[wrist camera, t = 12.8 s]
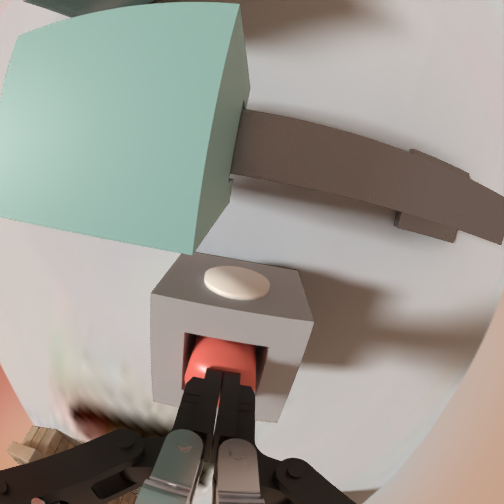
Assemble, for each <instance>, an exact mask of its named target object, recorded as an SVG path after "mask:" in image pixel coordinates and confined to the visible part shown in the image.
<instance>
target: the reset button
mask: <svg viewBox="0 0 504 504" xmlns="http://www.w3.org/2000/svg"><path fill="white" fill-rule="evenodd" d="M207 368H211V369H217V370H222V371H223V374H222V380H221V386H220V392H219V399H218V405H217V407H219V400H220V394H221V389H222V383H223V377H224V371H229V372H235V373H241V378H240V385H245V386H251V387H252V389H253V391H255V387H256V345H253V344H246V343H240V342H234V341H228V340H222V339H217V338H212V337H206V336H201V335H198V336H197V339H196V342H195V345H194V348H193V351H192V354H191V358H190V361H189V364H188V367H187V370H186V373H185V385H186V383H187V382H188V381H189V380H190V379H191V378H192V377H198V378H203V379H204V378H205V373H206V369H207Z"/></svg>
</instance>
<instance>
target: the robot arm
mask: <svg viewBox="0 0 504 504" xmlns="http://www.w3.org/2000/svg"><path fill="white" fill-rule="evenodd" d="M222 374H223V371H222V370H217V369H211V368H207V369H206V373H205V378H204V379H203V378H198V377H192V378H191V379H190V380H189V381H188V382H187V383H186V386H185V389H184V393H183V396H182V399H181V403H180V406H179V409H178V413H177V416H176V420H175V423H174V426H173V429H172V430H171V431H170V433H168V434H167V435H165V436H163V437H159V438H141V437H140V436H139V435H138V434H137V433H136V432H134V431H132V430H129V429H117V430H115V431H112V432H110V433H108V434H105V435H103V436H101V437H98V438H96V439H93V440H91V441H89V442H86V443H84V444H81V445H78V446H76V447H73V448H71V449H68V450H65V451H62V452H60V453H57V454H54V455H51V456H48V457H45V458H42V459H39V460H36V461H33V462H30V463H26V464H23V465H20V466H16V467H12V468H9V469H5V470H1V471H0V504H106V503H108V502H110V501H112V500H114V499H116V498H118V497H121V496H123V495H125V494H127V493H129V492H131V491H133V490H135V489H137V488H138V487H140V486H142V487H141V490H140V492H139V495H138V497H137V499H136V502H135V504H192V502H193V499H194V495H195V491H196V488H197V484H198V480H199V476H200V475H201V473H202V467H203V461H204V462H208V461H209V455H210V449H211V443H212V437H213V430H214V424H215V418H216V411H217V405H218V399H219V392H220V386H221V380H222ZM240 378H241V373H235V372H229V371H224V377H223V383H222V389H221V394H220V400H219V407H218V413H217V420H216V426H215V433H214V440H213V446H212V453H211V460H210V462H211V463H215V467H214V474H213V482H212V504H356V503H355V502H353V501H352V500H351V499H350V498H348V497H347V496H346V495H344V494H343V493H342V492H341V491H340V490H338V489H337V488H336V487H335V486H333V485H332V484H331V483H330V482H329V481H328V480H326V479H325V478H324V477H323V476H322V475H321V474H319V473H318V472H317V471H316V470H315V469H314V468H313V467H311V466H310V465H309V464H308V463H307V462H305V461H304V460H301V459H298V458H289V459H285V460H283V461H279V460H276V459H273V458H270V457H268V456H265V455H264V454H262V453H261V452H260V451H259V450H258V449H257V447H256V445H255V440H254V439H255V393H254V391H253V389H252V387H251V386H245V385H240Z"/></svg>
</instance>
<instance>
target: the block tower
mask: <svg viewBox="0 0 504 504" xmlns="http://www.w3.org/2000/svg"><path fill="white" fill-rule="evenodd" d="M73 447H75V446H74V445H73V444H72V443H70V442H69V441H68V440H67V439H66V438H65V437H64V436H63V435H62V434H61V433H60V432H59V431H58V430H57V429H51V428H49V429H48V428H44V427H40V428H39V427H35V426H32V427H31V429H30V430H29V432H28V434H27V436H26V437H25V439H24V441H23V442H22V444H19V443H17V442H14V441H13V442H12V443H11V445H10V446H9V448H8V449H7V452H8V454H10V455H11V456H12V457H13V458H14V460H15V461H16V462H17V463H18V464H20V465H23V464H26V463H30V462H33V461H36V460H39V459H42V458H45V457H48V456H51V455H54V454H57V453H60V452H62V451H65V450H68V449H71V448H73ZM137 497H138V496H137V495H135V494H134V493H132V492H129V493H127V494H125V495H123V496H121V497H118V498H116V499H114V500H112V501H110V502H108V503H106V504H135V502H136V499H137Z"/></svg>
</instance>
